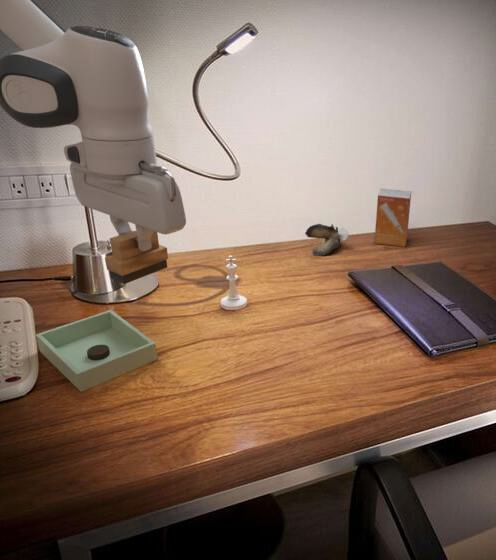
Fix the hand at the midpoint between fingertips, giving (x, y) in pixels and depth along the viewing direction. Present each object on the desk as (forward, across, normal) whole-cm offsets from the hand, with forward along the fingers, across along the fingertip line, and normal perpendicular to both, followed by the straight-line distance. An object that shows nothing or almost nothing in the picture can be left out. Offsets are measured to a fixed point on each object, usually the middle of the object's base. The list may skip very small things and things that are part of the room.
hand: (135, 246), depth 80 cm
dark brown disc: (+16, +2, +8) cm, 18 cm away
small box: (+17, -8, -65) cm, 67 cm away
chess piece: (+17, -2, -17) cm, 24 cm away
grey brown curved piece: (+17, +1, -50) cm, 53 cm away
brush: (+4, 0, 0) cm, 4 cm away
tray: (+17, +2, +8) cm, 19 cm away
